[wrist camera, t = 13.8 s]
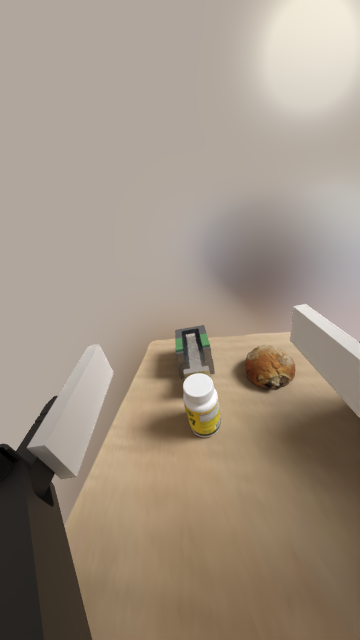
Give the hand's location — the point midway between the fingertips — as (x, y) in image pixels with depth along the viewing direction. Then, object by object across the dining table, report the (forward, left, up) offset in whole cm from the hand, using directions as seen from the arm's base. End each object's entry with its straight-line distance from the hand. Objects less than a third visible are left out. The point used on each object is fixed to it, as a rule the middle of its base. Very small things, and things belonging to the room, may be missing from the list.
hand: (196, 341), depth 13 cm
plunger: (-5, -22, -26) cm, 34 cm away
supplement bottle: (-2, -11, -27) cm, 29 cm away
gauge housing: (-7, -27, -27) cm, 39 cm away
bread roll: (-20, -16, -27) cm, 37 cm away
